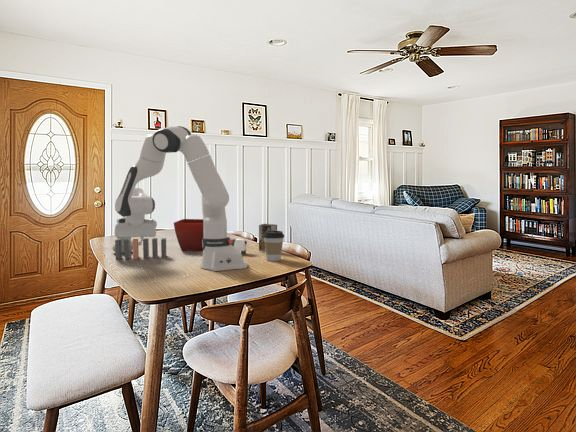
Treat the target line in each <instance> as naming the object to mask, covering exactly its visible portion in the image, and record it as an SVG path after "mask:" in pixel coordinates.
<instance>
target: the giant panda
mask: <svg viewBox="0 0 576 432" xmlns="http://www.w3.org/2000/svg"><path fill="white" fill-rule="evenodd" d="M227 237H228V238H230V239H232V238H231V237H230V236H227ZM232 241H233V242H232V243H231V245H232V246H233V247H235V248H236V249H237V250H239V251H240V252H241V254H242V256H244V255H246V254H247V253H246V252H247V248H248V247H247V244H248V241H247V240H246V239H244V238H233V239H232Z"/></svg>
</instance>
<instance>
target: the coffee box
mask: <svg viewBox="0 0 576 432" xmlns="http://www.w3.org/2000/svg"><path fill="white" fill-rule="evenodd" d="M265 231H278V224H272V223H262V224H259V225H258V252H259V251H262V252H261V253H265V252H266V250H265V242H264V237H263V234H265Z"/></svg>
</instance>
